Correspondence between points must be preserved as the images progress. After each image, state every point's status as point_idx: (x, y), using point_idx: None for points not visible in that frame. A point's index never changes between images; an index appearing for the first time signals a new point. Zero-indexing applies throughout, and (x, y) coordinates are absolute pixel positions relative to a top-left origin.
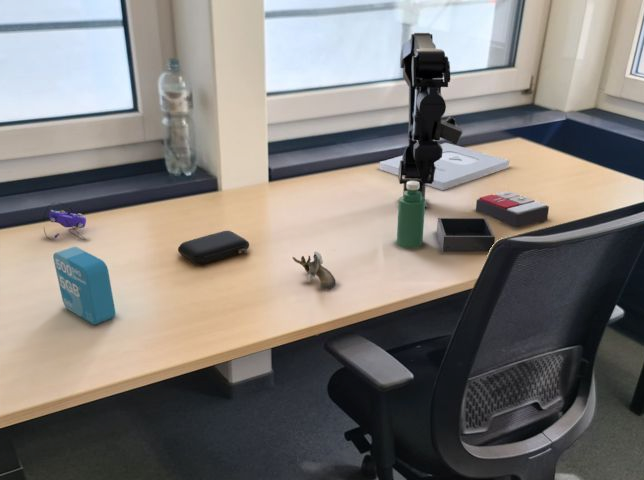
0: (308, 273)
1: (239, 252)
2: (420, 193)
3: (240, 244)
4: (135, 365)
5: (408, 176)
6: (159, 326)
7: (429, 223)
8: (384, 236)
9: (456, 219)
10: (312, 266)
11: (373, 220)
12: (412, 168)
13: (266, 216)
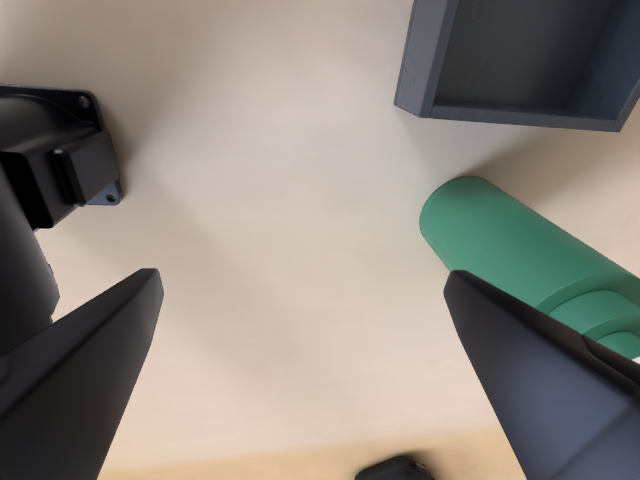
0: None
1: (426, 467)
2: (634, 320)
3: (415, 477)
4: None
5: (52, 275)
6: None
7: (283, 113)
8: (381, 272)
9: (455, 7)
10: None
11: (255, 293)
12: (15, 297)
13: (238, 456)
